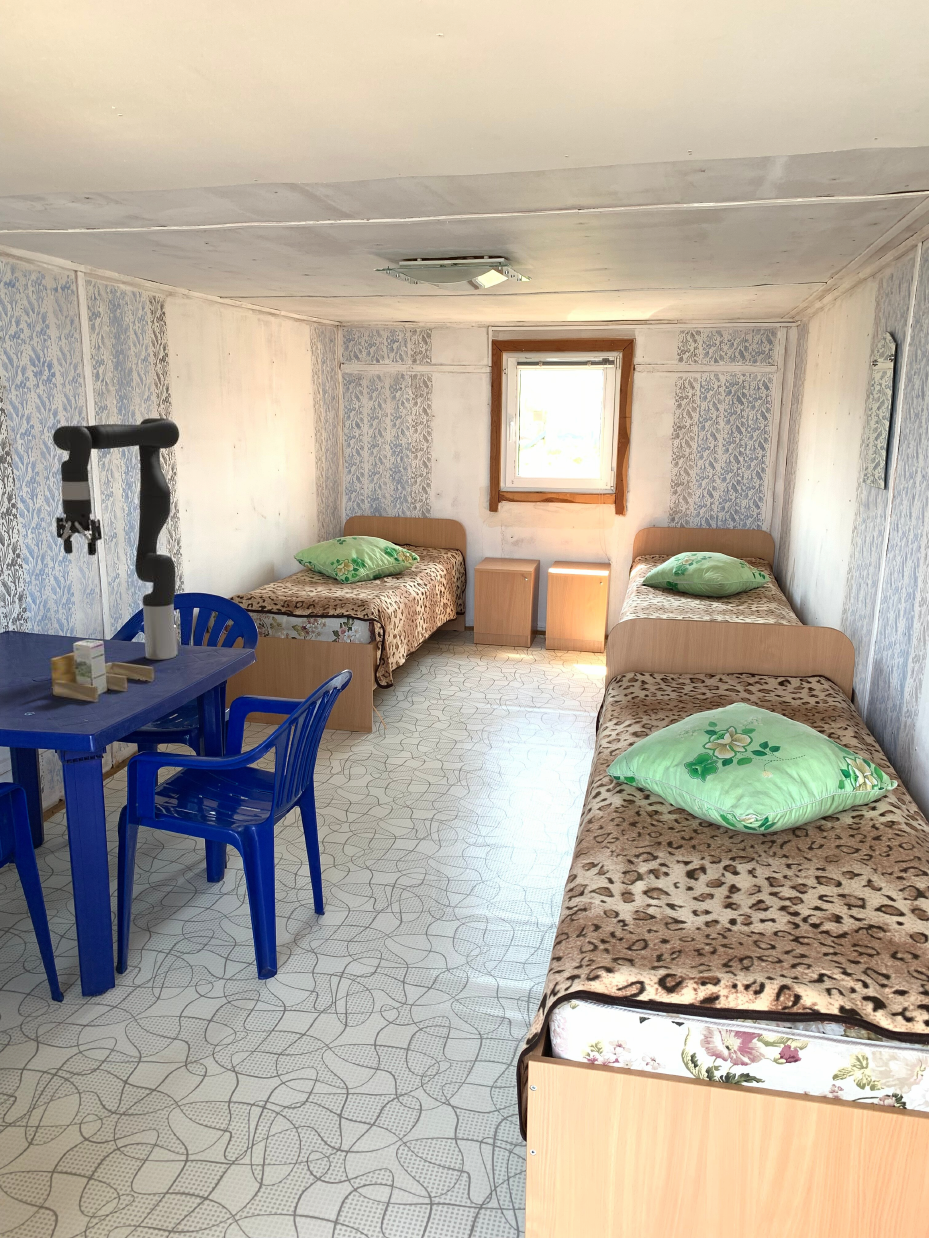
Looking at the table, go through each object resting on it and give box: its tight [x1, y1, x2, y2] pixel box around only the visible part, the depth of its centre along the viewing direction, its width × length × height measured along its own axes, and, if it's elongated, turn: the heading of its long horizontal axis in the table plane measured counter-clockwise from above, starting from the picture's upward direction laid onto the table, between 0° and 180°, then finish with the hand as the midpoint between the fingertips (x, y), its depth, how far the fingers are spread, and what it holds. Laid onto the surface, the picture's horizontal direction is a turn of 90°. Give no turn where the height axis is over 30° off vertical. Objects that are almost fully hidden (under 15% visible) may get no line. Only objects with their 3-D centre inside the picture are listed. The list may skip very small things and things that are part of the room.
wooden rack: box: [50, 652, 155, 703], centre depth 249 cm, size 23×15×10 cm, turn 159°
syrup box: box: [72, 639, 108, 695], centre depth 244 cm, size 6×6×14 cm
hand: (80, 554), depth 255 cm, fingers open, 8 cm apart
